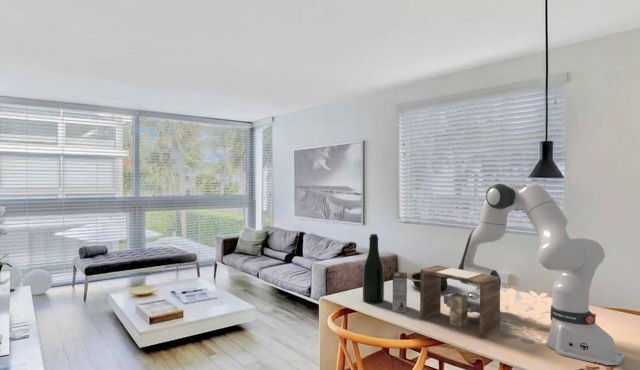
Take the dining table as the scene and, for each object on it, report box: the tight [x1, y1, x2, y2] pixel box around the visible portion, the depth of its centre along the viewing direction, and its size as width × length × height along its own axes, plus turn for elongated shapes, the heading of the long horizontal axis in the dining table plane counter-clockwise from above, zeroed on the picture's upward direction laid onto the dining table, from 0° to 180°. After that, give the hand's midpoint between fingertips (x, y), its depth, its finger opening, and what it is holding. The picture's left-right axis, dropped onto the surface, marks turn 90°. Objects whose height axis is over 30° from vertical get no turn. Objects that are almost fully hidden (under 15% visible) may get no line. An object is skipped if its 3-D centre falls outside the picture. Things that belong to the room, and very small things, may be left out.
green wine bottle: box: [362, 233, 385, 304], centre depth 195 cm, size 10×10×33 cm
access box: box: [419, 265, 501, 339], centre depth 164 cm, size 28×14×21 cm, turn 41°
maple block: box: [449, 292, 468, 328], centre depth 164 cm, size 5×5×12 cm
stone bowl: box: [407, 270, 449, 291], centre depth 220 cm, size 25×25×9 cm
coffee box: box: [392, 271, 408, 313], centre depth 183 cm, size 9×6×16 cm
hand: (458, 307), depth 164 cm, fingers open, 8 cm apart
